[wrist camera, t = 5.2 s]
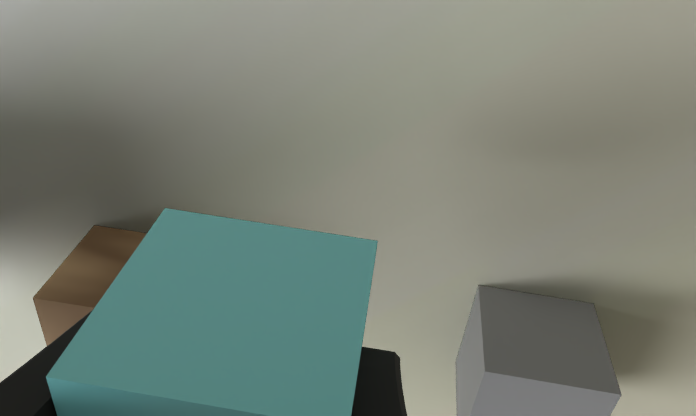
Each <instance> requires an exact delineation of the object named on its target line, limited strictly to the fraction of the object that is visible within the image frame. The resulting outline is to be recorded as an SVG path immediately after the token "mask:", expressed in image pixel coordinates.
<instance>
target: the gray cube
mask: <svg viewBox="0 0 696 416" xmlns="http://www.w3.org/2000/svg"><path fill="white" fill-rule="evenodd" d="M620 397H621V392H620V388H619V385H618V382H617V379H616V375H615V372H614V369H613V366H612V362H611V359H610V356H609V353H608V349H607V346H606V343H605V340H604V336H603V333H602V330H601V327H600V323H599V320H598V317H597V314H596V310H595V307H594V304H593V303H587V302H581V301H574V300H568V299H562V298H556V297H550V296H544V295H537V294H531V293H525V292H519V291H513V290H507V289H501V288H494V287H488V286H482V285H478V288H477V291H476V295H475V298H474V302H473V305H472V308H471V312H470V315H469V318H468V322H467V325H466V329H465V332H464V335H463V339H462V342H461V345H460V349H459V352H458V355H457V359H456V400H457V416H610V415H611V413H612V411H613V409H614V408H615V406H616V404H617V402H618V400H619V399H620Z"/></svg>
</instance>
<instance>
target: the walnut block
mask: <svg viewBox="0 0 696 416" xmlns="http://www.w3.org/2000/svg"><path fill="white" fill-rule="evenodd" d="M146 234H147V233H142V232H136V231H129V230H122V229H116V228H109V227H103V226H96V225H94V226H93V227H92V229H91V230H90V231H89V232H88V233H87V235H86V236H85V237H84V238H83V239H82V240H81V242H80V243H79V244H78V245H77V246H76V248H75V249H74V250H73V251H72V252H71V253H70V255H69V256H68V257H67V258H66V259H65V261H64V262H63V263H62V264H61V265H60V266H59V268H58V269H57V270H56V271H55V272H54V274H53V275H52V276H51V277H50V278H49V279H48V281H47V282H46V283H45V284H44V285H43V286H42V288H41V289H40V290H39V291H38V292H37V294H36V295H35V296H34V297H33V300H34V304H35V307H36V311H37V314H38V317H39V321H40V324H41V327H42V331H43V334H44V338H45V341H46V344H47V346H48V345H49V344H50V343H52V342H53V341H54V340H55V339H57V338H58V337H59V336H60V335H62V334H63V333H64V332H65V331H67V330H68V329H69V328H70V327H72V326H73V325H74V324H75V323H77V322H78V321H79V320H80V319H82V318H83V317H84V316H85V315H87V314H88V313H89V312H90V311H92V310H93V309H94V308H95V306H96V305H97V304H98V302H99V301H100V299H101V298H102V297H103V295H104V294H105V292H106V291H107V289H108V288H109V287H110V285H111V284H112V282H113V281H114V280H115V278H116V277H117V275H118V274H119V272H120V271H121V270H122V268H123V267H124V265H125V264H126V263H127V261H128V260H129V258H130V257H131V255H132V254H133V253H134V251H135V250H136V248H137V247H138V246H139V244H140V243H141V241H142V240H143V239H144V237H145V236H146Z"/></svg>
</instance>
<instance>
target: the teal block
mask: <svg viewBox="0 0 696 416" xmlns="http://www.w3.org/2000/svg"><path fill="white" fill-rule="evenodd" d="M377 243H378V241H375V240H369V239H362V238H356V237H349V236H343V235H336V234H330V233H323V232H317V231H310V230H304V229H297V228H291V227H284V226H278V225H271V224H265V223H258V222H252V221H246V220H239V219H233V218H226V217H220V216H213V215H207V214H200V213H194V212H187V211H181V210H174V209H168V208H165V209H164V210H163V212H162V213H161V214H160V216H159V217H158V219H157V220H156V222H155V223H154V224H153V226H152V227H151V229H150V230H149V231H148V233H147V234H146V236H145V237H144V239H143V240H142V241H141V243H140V244H139V246H138V247H137V248H136V250H135V251H134V253H133V254H132V255H131V257H130V258H129V260H128V261H127V263H126V264H125V265H124V267H123V268H122V270H121V271H120V272H119V274H118V275H117V277H116V278H115V280H114V281H113V282H112V284H111V285H110V287H109V288H108V289H107V291H106V292H105V294H104V295H103V297H102V298H101V299H100V301H99V302H98V304H97V305H96V306H95V308H94V309H93V311H92V312H91V314H90V315H89V316H88V318H87V319H86V321H85V322H84V323H83V325H82V326H81V328H80V329H79V331H78V332H77V333H76V335H75V336H74V338H73V339H72V340H71V342H70V343H69V345H68V346H67V348H66V349H65V350H64V352H63V353H62V355H61V356H60V357H59V359H58V360H57V362H56V363H55V365H54V366H53V367H52V369H51V370H50V372H49V373H48V374H47V376H46V379H47V383H48V386H49V389H50V393H51V396H52V399H53V403H54V406H55V410H56V413H57V416H351V414H352V407H353V400H354V394H355V387H356V381H357V374H358V368H359V361H360V355H361V348H362V342H363V335H364V329H365V322H366V315H367V309H368V302H369V296H370V289H371V282H372V276H373V269H374V263H375V256H376V249H377Z"/></svg>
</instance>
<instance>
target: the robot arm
mask: <svg viewBox="0 0 696 416" xmlns="http://www.w3.org/2000/svg"><path fill="white" fill-rule="evenodd" d="M92 311H93V310H92ZM92 311H90V312H89V313H88V314H87V315H85V316H84V317H83V318H82V319H80V320H79V321H78V322H77V323H75V324H74V325H73V326H72V327H70V328H69V329H68V330H67V331H65V332H64V333H63V334H62V335H60V336H59V337H58V338H57V339H55V340H54V341H53V342H52V343H50V344H49V345H48V346H47V347H45V348H44V349H43V350H42V351H40V352H39V353H38V354H37V355H35V356H34V357H33V358H32V359H30V360H29V361H28V362H27V363H25V364H24V365H23V366H21V367H20V368H19V369H17V370H16V371H15V372H14V373H12V374H11V375H10V376H8V377H7V378H6V379H4V380H3V381H2V382H1V383H0V416H57V413H56V410H55V406H54V403H53V399H52V396H51V393H50V389H49V386H48V383H47V379H46V376H47V374H48V373H49V372H50V370H51V369H52V367H53V366H54V365H55V363H56V362H57V360H58V359H59V357H60V356H61V355H62V353H63V352H64V350H65V349H66V348H67V346H68V345H69V343H70V342H71V340H72V339H73V338H74V336H75V335H76V333H77V332H78V331H79V329H80V328H81V326H82V325H83V323H84V322H85V321H86V319H87V318H88V316H89V315H90V314H91V312H92ZM351 416H407V413H406V408H405V402H404V396H403V389H402V382H401V372H400V358H399V356H398V355H397V354H396V353H395V352H391V351H385V350H379V349H373V348H366V347H362V348H361V355H360V361H359V368H358V374H357V381H356V387H355V394H354V400H353V407H352V414H351Z"/></svg>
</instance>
